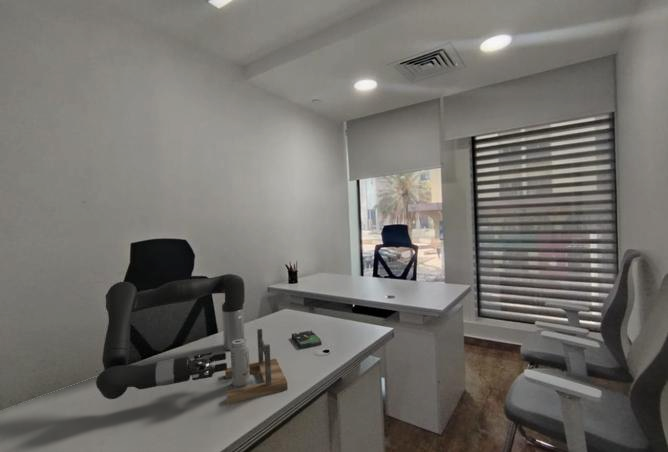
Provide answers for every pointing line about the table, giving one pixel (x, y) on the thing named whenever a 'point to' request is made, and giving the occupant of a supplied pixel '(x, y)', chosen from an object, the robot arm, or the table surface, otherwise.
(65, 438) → the table surface
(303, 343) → the disk drive
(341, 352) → the table surface
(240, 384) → the energy drink can
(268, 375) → the wooden crossbar stand
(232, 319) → the robot arm
